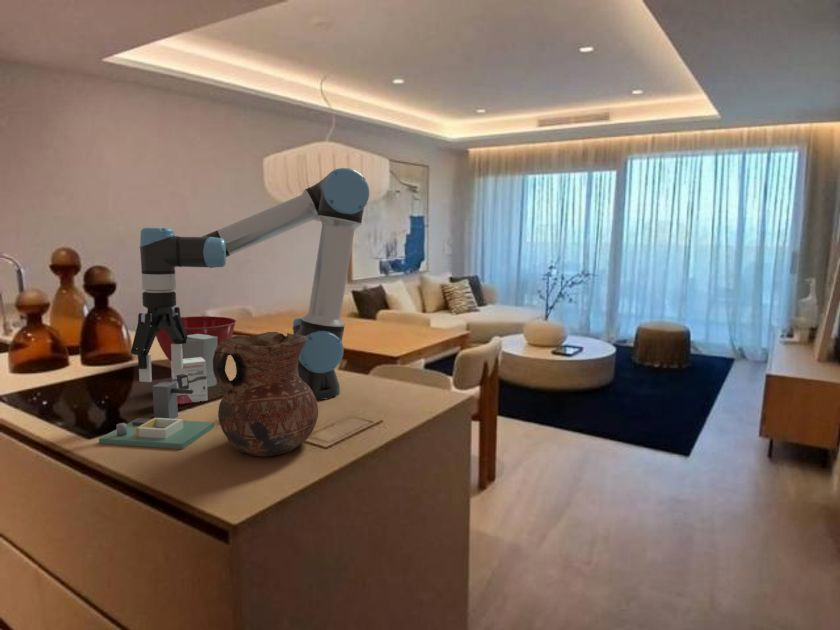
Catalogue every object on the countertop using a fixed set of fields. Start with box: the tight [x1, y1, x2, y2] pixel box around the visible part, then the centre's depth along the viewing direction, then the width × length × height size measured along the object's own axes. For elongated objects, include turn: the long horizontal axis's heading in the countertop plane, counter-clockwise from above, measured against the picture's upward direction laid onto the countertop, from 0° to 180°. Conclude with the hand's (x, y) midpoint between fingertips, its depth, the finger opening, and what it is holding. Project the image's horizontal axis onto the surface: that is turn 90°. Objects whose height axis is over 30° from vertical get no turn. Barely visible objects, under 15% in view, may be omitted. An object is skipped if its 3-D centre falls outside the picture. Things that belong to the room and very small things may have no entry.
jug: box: [213, 331, 319, 457], centre depth 121 cm, size 22×21×25 cm
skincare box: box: [183, 334, 218, 389], centre depth 169 cm, size 8×7×16 cm
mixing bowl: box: [155, 315, 237, 362], centre depth 198 cm, size 28×28×15 cm
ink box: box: [170, 357, 209, 405], centre depth 154 cm, size 8×5×12 cm, turn 123°
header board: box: [98, 417, 215, 450], centre depth 128 cm, size 20×14×4 cm
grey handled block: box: [151, 381, 193, 419], centre depth 139 cm, size 10×4×9 cm, turn 83°
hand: (162, 374), depth 138 cm, fingers open, 13 cm apart
